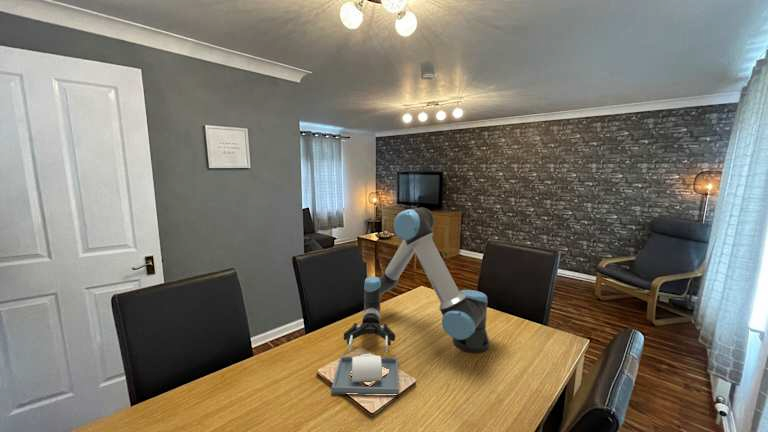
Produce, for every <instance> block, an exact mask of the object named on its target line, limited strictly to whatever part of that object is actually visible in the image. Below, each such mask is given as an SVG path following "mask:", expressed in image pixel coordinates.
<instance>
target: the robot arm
mask: <svg viewBox="0 0 768 432" xmlns="http://www.w3.org/2000/svg"><path fill="white" fill-rule="evenodd" d="M435 221H436V220H435V217H434V214H433V212H432V211H431V210H430V209H428V208H425V207H416V208H409V209H406V210H402V211H401V212H398V214H397V215H396V216H395V218H394V221H393V230H394V233H395V235H396V236H397V237H398V238H399V239H401V240H402V242H401V244H400V245H399V247H398V248H397V250H396V252H395V254H394V255H393V257H392V259H391V260H390V261H389V263H388V266H387V267H386V269H385V271H384V272H383V274H382V275H381V276H380V277H378V276H368V277H366V278H365V280H364V285H363V290H364V291H363V292H364V293H363V296H364V299H363V300H364V301H363V302H364V303H363V308H364V309H363V315H362V321H361V323H360V324H358V323H357V322H354V324H353V325H352V326H351V327H350V328H348V330H346V331H345V332H344V333H343V341H346V345H348V352H351V351H352V347H353V343H354V342H353V341H354V340H355V339H357V338H358V337H360V336H365V335H366V334H367V335H368V334H371V335H373V334H374V335H375V336H379V337H380V338H382V339H383V340H385V351H384V352H385V353H388V349H389V348H388V346H391V342H394V341H396V333H394V332H393V331H392V329H390V327H389V326H388V323H383V325H381V324H380V322H381V319H380V318H381V295H383V294H385V293H387V292H388V291H390V290H393V289H394V288H395V287H397V286H398V284H399V278H400V276H402V275H401V274H402V273H403V272H404V270H405V269H406V267H407V265H408V264H409V263H410V262H411V259H412V257H413V256H414V255H416V257H417V259H418V261H419V262H420V265H421V267H422V269H423V271H424V273H425V274H426V276H427V279H428V281H429V282H430V285H431V286H432V289H433V290H434V292H435V295H436V296H437V298H438V300H439V302H440V304H439V307H438V308H439V311H440V313H441V314H442V318H441V325H442V329H443V330H444V332H445V333H446V334H447V335H448V336H449V337H452V344H453V345H454V346H455V347H456V348H458V349H460V350H462V351H464V352H467V353H472V354H480V353H484V352H487V350H488V349H489V347H490V339H489V336H488V332H487V327H486V326H487V313H488V308H487V307H488V303H489V302H488V296H487V295H486V294H485V293H484V292H481V291H479V290H472V289H462V290H459V288H458V286H457V285H456V282H455V280H454V279H453V276H452V275H451V273H450V271H449V269H448V267H447V265H446V263H445V261H444V260H443V258H442V256H441V254H440V252H439V250H438V248H437V246H436V244H435V242H434V240H433V235H434V232H433V231H432V230H433V229H434V227H435Z"/></svg>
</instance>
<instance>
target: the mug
mask: <svg viewBox="0 0 768 432" xmlns="http://www.w3.org/2000/svg"><path fill="white" fill-rule="evenodd" d="M351 357H352V382H353V383H354V382H372V381H381V380H382V363H381V358H382V357H381V355H374V354H371V353H364V354H361V355H359V356H351Z"/></svg>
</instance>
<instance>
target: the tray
mask: <svg viewBox="0 0 768 432" xmlns="http://www.w3.org/2000/svg"><path fill="white" fill-rule="evenodd" d="M352 357H353V356H341V355H340V357H339V360H338V365H337V368H336V369H335V370H336V371H335V375H334V377H333V381H332V384H331V395H339V396H340V395H343V396H346V395H345V393H358V394H397V395H398V396H399V394H400V393H399V392H400V391H399V389H400V388H399V360H398V357H381V363H382V367H384V368H386V369H389V373H388V375H387V376H386V377H385V378H383V379H382V380H381V381H379V382H378V383H376V384H375V385H373V386H372V387H363V386H362V385H361V384H359V383H358V382H354V383H353V382H352V377H351V376H350V372H351V371H352Z"/></svg>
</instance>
